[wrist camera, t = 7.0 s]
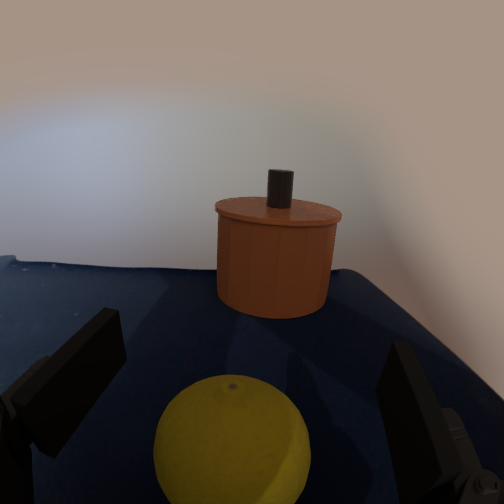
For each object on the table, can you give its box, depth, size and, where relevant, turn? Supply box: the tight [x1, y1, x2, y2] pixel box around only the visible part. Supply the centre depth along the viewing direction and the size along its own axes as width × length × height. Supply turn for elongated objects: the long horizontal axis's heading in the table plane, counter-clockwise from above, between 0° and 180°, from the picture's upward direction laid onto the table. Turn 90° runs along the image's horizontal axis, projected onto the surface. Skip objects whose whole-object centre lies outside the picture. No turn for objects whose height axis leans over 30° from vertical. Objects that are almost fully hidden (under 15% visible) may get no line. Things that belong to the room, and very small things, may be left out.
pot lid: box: [215, 169, 342, 227], centre depth 30 cm, size 12×12×5 cm
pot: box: [217, 213, 337, 319], centre depth 32 cm, size 11×11×8 cm
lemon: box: [153, 375, 311, 504], centre depth 9 cm, size 6×6×8 cm
